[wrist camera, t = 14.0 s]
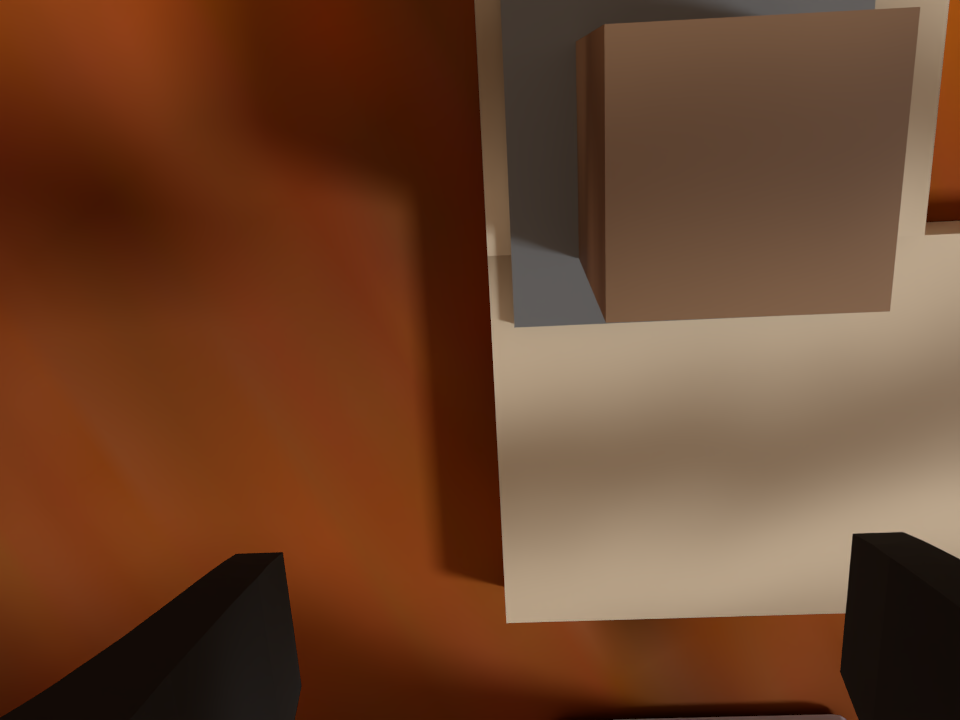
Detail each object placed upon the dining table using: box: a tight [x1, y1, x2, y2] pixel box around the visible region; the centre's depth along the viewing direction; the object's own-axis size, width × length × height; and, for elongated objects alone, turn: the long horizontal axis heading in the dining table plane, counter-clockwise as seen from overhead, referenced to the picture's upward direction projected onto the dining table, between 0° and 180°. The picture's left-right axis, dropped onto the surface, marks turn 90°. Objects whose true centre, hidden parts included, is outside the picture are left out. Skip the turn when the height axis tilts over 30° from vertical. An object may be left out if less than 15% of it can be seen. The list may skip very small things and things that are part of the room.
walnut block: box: [576, 7, 920, 323], centre depth 15 cm, size 4×4×5 cm
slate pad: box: [500, 0, 876, 328], centre depth 17 cm, size 7×7×1 cm
